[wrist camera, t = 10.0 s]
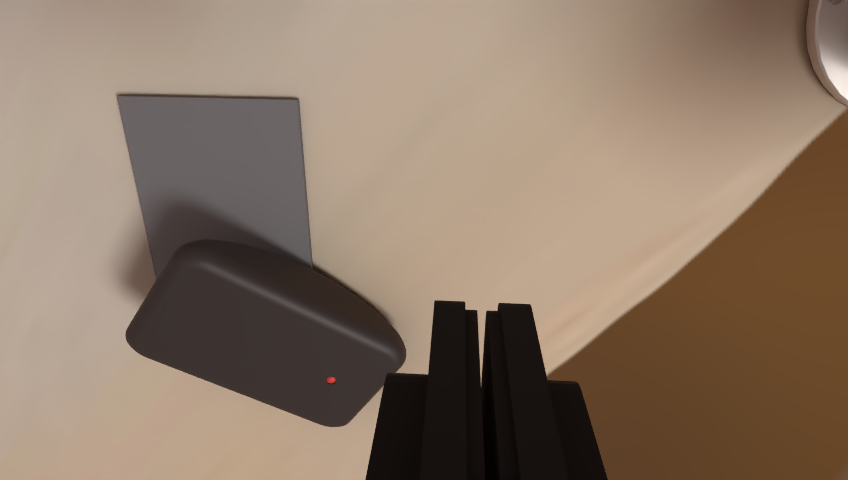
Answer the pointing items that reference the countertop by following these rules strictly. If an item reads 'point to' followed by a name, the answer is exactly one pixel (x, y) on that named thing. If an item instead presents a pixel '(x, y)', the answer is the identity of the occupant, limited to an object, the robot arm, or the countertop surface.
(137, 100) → the mat
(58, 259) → the countertop surface
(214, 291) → the leaning round-cornered charcoal block
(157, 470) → the countertop surface
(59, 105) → the countertop surface
